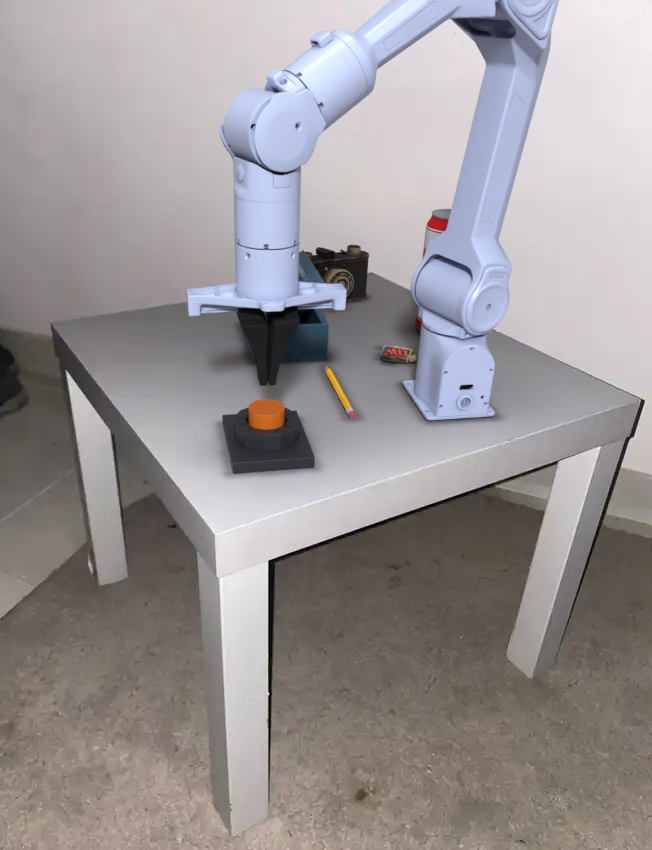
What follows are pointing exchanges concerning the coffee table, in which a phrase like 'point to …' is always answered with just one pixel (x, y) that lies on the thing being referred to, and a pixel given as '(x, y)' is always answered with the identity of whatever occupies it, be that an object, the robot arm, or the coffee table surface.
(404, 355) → the matchbox
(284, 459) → the control block
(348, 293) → the camera
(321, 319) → the blue box
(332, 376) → the pencil
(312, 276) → the blue box lid
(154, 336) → the coffee table surface
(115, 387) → the coffee table surface
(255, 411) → the button
